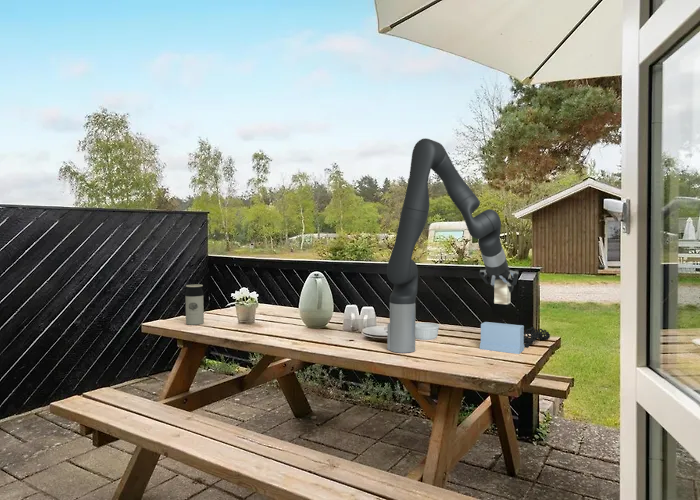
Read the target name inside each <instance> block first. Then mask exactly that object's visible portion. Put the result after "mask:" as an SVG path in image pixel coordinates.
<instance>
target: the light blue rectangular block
mask: <svg viewBox="0 0 700 500" xmlns="http://www.w3.org/2000/svg"><path fill="white" fill-rule="evenodd" d="M524 329H525V326H524V325H522V324H511V323H501V322H489V321H484V322H482V323H480V343H479V350H486V351H493V352H499V353H500V352H501V353H506V354H507V353H509V354H510V353H511V354H515V355H520V354H521V353H523V352H524V351H525V344H524V333H525V330H524Z"/></svg>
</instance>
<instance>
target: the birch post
mask: <svg viewBox="0 0 700 500" xmlns="http://www.w3.org/2000/svg"><path fill="white" fill-rule="evenodd" d="M509 275H510V278H511V279H512V275H511V274H509ZM493 292H494V299H493V303H494V304H498V305H510V304H511V292H509V289H508V285H507V284H506V283H504V281H503V280H500V279H498V280H495V283H494V289H493Z"/></svg>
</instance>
